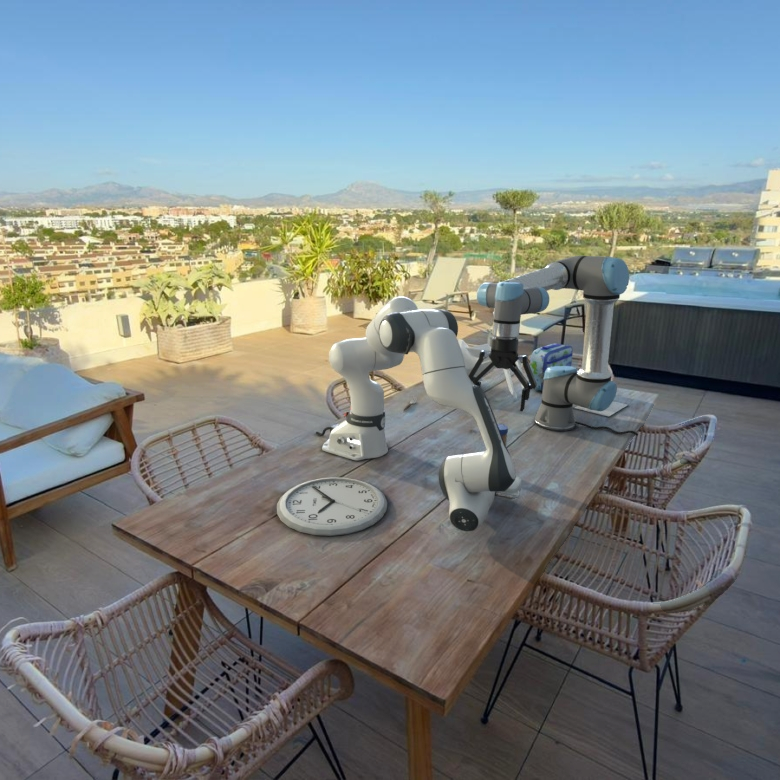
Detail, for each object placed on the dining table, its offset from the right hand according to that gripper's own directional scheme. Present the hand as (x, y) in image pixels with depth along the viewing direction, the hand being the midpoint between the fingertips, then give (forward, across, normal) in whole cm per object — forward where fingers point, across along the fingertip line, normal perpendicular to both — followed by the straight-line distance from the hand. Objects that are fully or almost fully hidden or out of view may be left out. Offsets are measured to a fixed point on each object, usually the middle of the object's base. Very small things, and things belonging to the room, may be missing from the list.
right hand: (499, 406), depth 157 cm
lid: (+7, -1, 0) cm, 7 cm away
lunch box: (+22, -3, -102) cm, 105 cm away
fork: (+22, +47, -48) cm, 70 cm away
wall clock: (+22, +36, +39) cm, 57 cm away
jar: (+22, -1, 0) cm, 22 cm away
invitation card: (+22, -28, -84) cm, 91 cm away
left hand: (+16, -1, +12) cm, 20 cm away
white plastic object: (+22, +25, -80) cm, 87 cm away
